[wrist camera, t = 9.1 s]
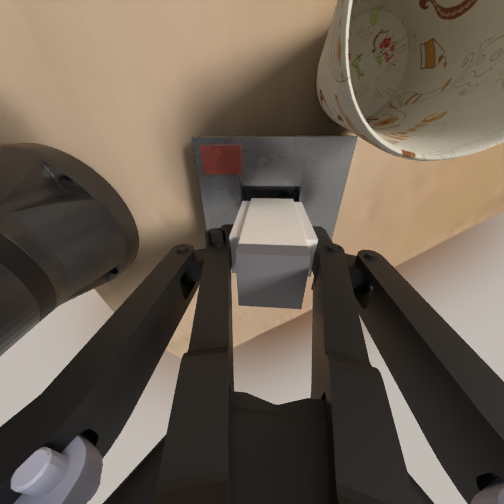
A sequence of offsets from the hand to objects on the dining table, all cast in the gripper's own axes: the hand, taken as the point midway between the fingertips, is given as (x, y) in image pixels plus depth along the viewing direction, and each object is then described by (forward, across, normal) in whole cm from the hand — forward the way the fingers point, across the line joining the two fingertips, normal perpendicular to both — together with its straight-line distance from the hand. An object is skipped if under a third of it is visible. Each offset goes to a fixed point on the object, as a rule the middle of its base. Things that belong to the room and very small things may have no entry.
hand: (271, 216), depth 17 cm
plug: (0, 0, 0) cm, 1 cm away
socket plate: (+2, 0, 0) cm, 2 cm away
